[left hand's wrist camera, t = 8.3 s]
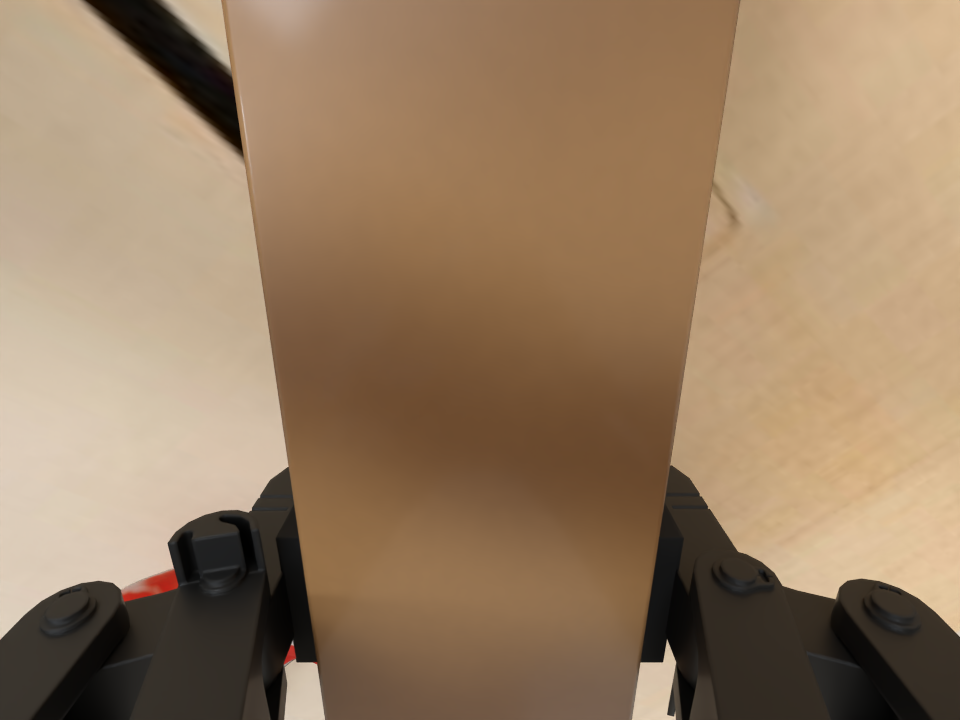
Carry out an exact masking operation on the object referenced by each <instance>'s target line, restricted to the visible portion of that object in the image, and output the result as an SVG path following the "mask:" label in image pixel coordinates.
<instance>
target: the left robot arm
mask: <svg viewBox="0 0 960 720" xmlns="http://www.w3.org/2000/svg"><path fill="white" fill-rule="evenodd" d="M699 494H700V493H699V492H698V490H697V489H696V487H695V486H694V484H693V483H692V481H691V480H690V478H688V477H687V476H686V475H684V474H683V473H681V472H680V471H679V470H677V469H676V468H675V467H673V466H670V469H669V475H668V482H667V489H666V495H665V502H664V508H663V515H662V522H661V528H660V535H659V542H658V548H657V555H656V562H655V568H654V575H653V581H652V588H651V595H650V601H649V608H648V615H647V621H646V628H645V635H644V641H643V648H642V654H641V661H640V662H663V659H664V654H665V648H666V642H667V640H668V642H669V645H670V647H671V650H672V652H673V655H674V657H675V660H676V668H675V673H674V679H673V684H672V690H671V695H670V701H669V707H668V713H667V715H670V716H674V714H675V713H676V720H960V637H959V636H958V635H957V634H956V633H955V632H954V631H953V630H952V629H951V628H950V627H949V626H948V625H947V624H946V623H945V622H944V621H943V619H942V618H941V617H940V616H939V615H938V614H937V613H936V612H934V611H933V610H932V609H931V608H930V607H928V606H927V605H926V604H925V603H923V602H922V601H921V600H920V599H918V598H916V597H915V596H913V595H911V594H909V593H907V592H905V591H904V590H902V589H900V588H897V587H895V586H892V585H889V584H886V583H883V582H880V581H874V580H867V579H856V580H850V581H847V582H846V583H844V584H843V585H842V586H841V587H840V588H839V591H838V594H837V597H836V599H832V598H827V597H823V596H819V595H814V594H810V593H806V592H801V591H797V590H794V589H790V588H787V587H784V586H782V584H781V583H780V581H779V580H778V578H777V576H776V575H775V573H774V572H773V571H771V570H770V569H769V568H768V567H767V566H766V565H764V564H763V563H762V562H760V561H758V560H756V559H754V558H752V557H751V556H749V555H747V554H744V553H740V552H738V551H737V550H736V548H735V547H734V545H733V544H732V542H731V541H730V539H729V538H728V536H727V534H726V533H725V531H724V530H723V528H722V527H721V525H720V524H719V522H718V521H717V519H716V518H715V516H714V515H713V513H712V512H711V510H710V509H708V506H707V504H706V503H705V501H704V500H703V498H702V497H700V495H699ZM168 547H169V551H170V555H171V559H172V562H173V566H174V570H175V574H176V578H177V582H178V588H176V589H173V590H170V591H167V592H163V593H159V594H155V595H151V596H146V597H142V598H138V599H133V600H129V601H125V602H124V599H123V596H122V592H121V590H120V589H119V588H118V587H117V586H116V585H114V584H113V583H109V582H103V581H95V582H88V583H81V584H78V585H75V586H72V587H69V588H66V589H64V590H61V591H59V592H57V593H55V594H54V595H52V596H50V597H48V598H46V599H45V600H43V601H41V602H40V603H39V604H37V605H36V606H35V607H34V608H32V609H31V610H30V611H29V612H28V613H26V614H25V615H24V616H23V617H22V618H21V619H20V620H19V621H18V622H17V623H16V624H15V625H14V626H13V627H12V628H11V629H10V630H9V631H8V632H7V634H6V635H5V636H4V637H3V638H2V639H1V640H0V720H284V714H285V703H286V691H287V680H286V673H285V668H284V662H285V659H286V657H287V654H288V651H289V649H290V646H291V644H292V641H293V644H294V650H295V656H296V662H317V659H316V652H315V645H314V638H313V631H312V624H311V617H310V610H309V603H308V596H307V589H306V582H305V576H304V569H303V562H302V555H301V548H300V541H299V534H298V527H297V520H296V513H295V506H294V499H293V492H292V486H291V479H290V472H289V467H287V468H286V469H285V470H283V471H282V472H281V473H279V474H278V475H277V476H275V477H274V478H272V479H271V480H270V481H269V483H268V484H267V486H266V487H265V489H264V490H263V492H262V494H261V495H260V498H258V500H257V501H256V503H255V504H254V506H253V507H252V511H250V512H249V513H247V512H243V511H239V510H228V511H219V512H215V513H211V514H207V515H204V516H202V517H199V518H197V519H195V520H193V521H191V522H189V523H187V524H186V525H185V526H183V527H182V528H181V529H179V530H178V531H177V532H175V534H174V535H173V536H172V538H171V539H170V541H169V542H168Z"/></svg>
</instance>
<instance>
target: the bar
mask: <svg viewBox="0 0 960 720" xmlns="http://www.w3.org/2000/svg"><path fill="white" fill-rule="evenodd" d="M221 1H222V8H223V15H224V22H225V29H226V35H227V42H228V49H229V56H230V63H231V70H232V77H233V84H234V91H235V98H236V105H237V112H238V119H239V125H240V132H241V139H242V146H243V153H244V160H245V167H246V174H247V181H248V188H249V195H250V202H251V209H252V215H253V222H254V229H255V236H256V243H257V250H258V257H259V264H260V271H261V278H262V285H263V292H264V299H265V306H266V312H267V319H268V326H269V333H270V340H271V347H272V354H273V361H274V368H275V375H276V382H277V389H278V396H279V402H280V409H281V416H282V423H283V430H284V437H285V444H286V451H287V458H288V465H289V472H290V479H291V486H292V492H293V499H294V506H295V513H296V520H297V527H298V534H299V541H300V548H301V555H302V562H303V569H304V576H305V582H306V589H307V596H308V603H309V610H310V617H311V624H312V631H313V638H314V645H315V652H316V659H317V666H318V673H319V679H320V686H321V693H322V700H323V707H324V714H325V720H632V714H633V707H634V701H635V694H636V688H637V681H638V674H639V668H640V661H641V654H642V648H643V641H644V635H645V628H646V621H647V615H648V608H649V601H650V595H651V588H652V581H653V575H654V568H655V562H656V555H657V548H658V542H659V535H660V528H661V522H662V515H663V508H664V502H665V495H666V489H667V482H668V475H669V469H670V462H671V455H672V449H673V442H674V436H675V429H676V422H677V416H678V409H679V402H680V396H681V389H682V382H683V376H684V369H685V363H686V356H687V349H688V343H689V336H690V329H691V323H692V316H693V310H694V303H695V296H696V290H697V283H698V276H699V270H700V263H701V256H702V250H703V243H704V237H705V230H706V223H707V217H708V210H709V203H710V197H711V190H712V183H713V177H714V170H715V164H716V157H717V150H718V144H719V137H720V130H721V124H722V117H723V111H724V104H725V97H726V91H727V84H728V77H729V71H730V64H731V57H732V51H733V44H734V38H735V31H736V24H737V18H738V11H739V4H740V0H221Z"/></svg>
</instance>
